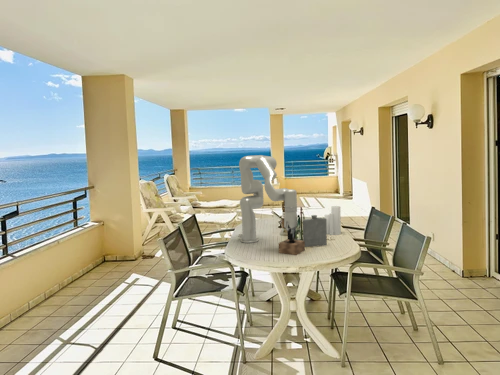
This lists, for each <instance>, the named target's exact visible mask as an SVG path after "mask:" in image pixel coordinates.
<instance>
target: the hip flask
mask: <svg viewBox="0 0 500 375" xmlns="http://www.w3.org/2000/svg"><path fill="white" fill-rule="evenodd" d="M327 236H328V234H327V224H326V218H325V217H318V215H316V214H312V215H311V218H305V219H302V241H305V248H308V247H321V246H325V247H326V246H328V245H327V243H328V237H327Z"/></svg>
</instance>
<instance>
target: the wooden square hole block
mask: <svg viewBox="0 0 500 375" xmlns="http://www.w3.org/2000/svg"><path fill="white" fill-rule="evenodd" d="M305 248H306V247H305V241H303V240H299V239H294V243H289V240H288V238H286V239H285V240H282V241H280V242H279V243H278V253H279V254H287V255H293V256H294V255H295V256H297V255H299V254H301V253H303V252H304V251H306V250H305Z"/></svg>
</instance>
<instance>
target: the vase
mask: <svg viewBox="0 0 500 375" xmlns="http://www.w3.org/2000/svg"><path fill="white" fill-rule="evenodd" d="M330 209H331V210H330V211H331V213H329V214H324V218H326V224H327V235H329V236H334V235H335V236H338V235H341V233H342V232H341V229H342V227H341V225H342V224H341V223H342V222H341V221H342V220H341V217H342V216H341V206H337V205H336V206H335V205H334V206H331V208H330Z"/></svg>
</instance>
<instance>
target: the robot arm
mask: <svg viewBox="0 0 500 375" xmlns="http://www.w3.org/2000/svg"><path fill="white" fill-rule="evenodd" d="M277 164H278V163H277V160H276V158H275V157H273V156H269V155H263V154H259V155H257V154H255V155H245V156H243V157H241V158H240V160H239V163H238V166H239V173H240V187H241V192H242V193H243V194H244V195H246V196H243V197H242V198H240V200H239V207H240V212H241V230H242V232H241V233H242V234H241V233H239V234H238V238H240V242H241V243H244V244H252V243H253V244H254V243H257V242H258V241H259V238H257V227H256V225H257V223H256V213H255V212H254V210H257V209H261V208H262V207H263V206H264V200H265V199H264V191H265V193H266V195H267V196H268V198H269V199H270V201H272V202H280V201H281V202H282V201H284V217H283V218H284V219H283V227H284V228H285V231H286V233H287V239H288V240H293V233H292V228H294V240H296V238H297V237H296V230H297V227H298V213H297V212H298V200H297V199H298V198H297V197H298V196H297V190H296V189H293V188H290V189H289V188H286V187H283V188H275V187H274V184H272V181H274V180H275V179H276V178H277V176H278V174H277V172H276V170H275V168H276V167H277ZM256 168H257V169H258V170H259V173H260V174H261V176H262V178H263V179H264V186H263V182H262V181H261V180H259V179H254V173H253V171H252V169H256ZM252 194H253V195H252ZM289 227H290V228H289ZM289 229H291V230H289Z"/></svg>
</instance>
